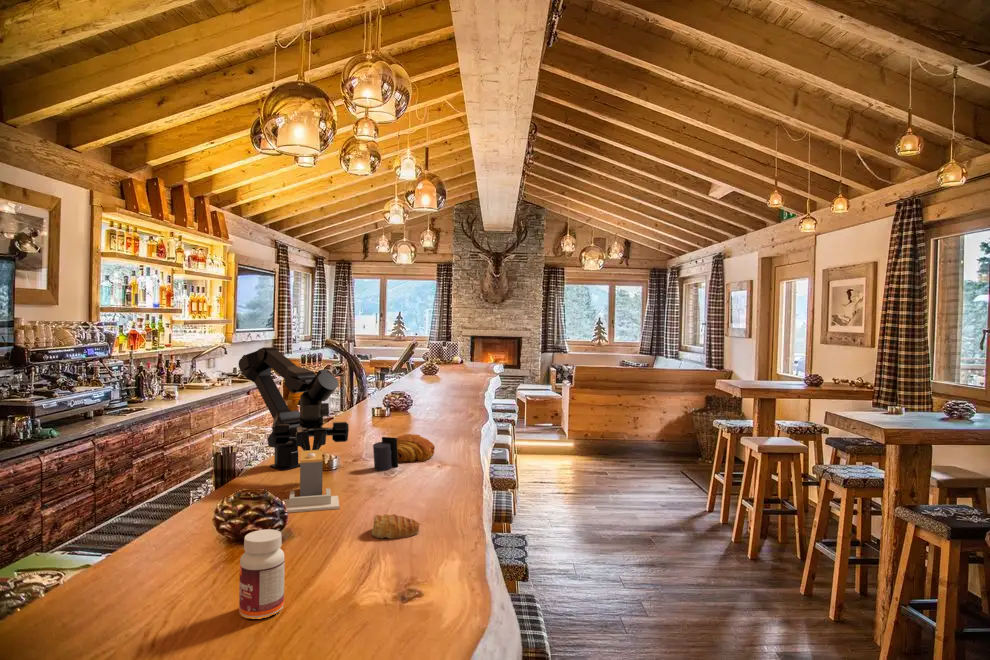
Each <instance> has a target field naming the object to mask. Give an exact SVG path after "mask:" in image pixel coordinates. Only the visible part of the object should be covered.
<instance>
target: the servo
mask: <svg viewBox="0 0 990 660" xmlns="http://www.w3.org/2000/svg"><path fill="white" fill-rule="evenodd" d="M299 455H300V457H299V458H300V459H299V463H300V466H299V497H302V496H316V495H323V466H324V465H323V461H324V458H323V453H322V449H319V450H312V449H311V450H308V451H303V450H300V452H299Z"/></svg>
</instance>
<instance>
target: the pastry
mask: <svg viewBox="0 0 990 660" xmlns="http://www.w3.org/2000/svg"><path fill="white" fill-rule="evenodd" d="M419 532H420V523H419V522H418V521H416V520H415V519H412V518H409V517H405V516H402V515H397V514H386V513H385V514H383V515H381V514H380V515H379V514H376V515H374V518H373V525H372V531H371V536H373V537H374V538H377V539H384V538H387V539H400V538H401V539H402V538H408V537H412V536H415V535H417V534H419Z"/></svg>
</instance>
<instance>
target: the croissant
mask: <svg viewBox="0 0 990 660" xmlns="http://www.w3.org/2000/svg"><path fill="white" fill-rule="evenodd" d="M396 438H397V451H398V463H399V462H401V463H402V462H403V463H405V462H407V463H408V462H411V463H413V462H415V463H416V462H419V463H420V462H424V461H428V460H429V459H431V458H432V457H433V456H434V455H435V449H436V447H435V445H434V443H432V442H431V441H430V440H429V439H427V438H425V437H422V435H420V434H413V433H412V434H409V433H407V434H402V435H399V436H398V437H396Z"/></svg>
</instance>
